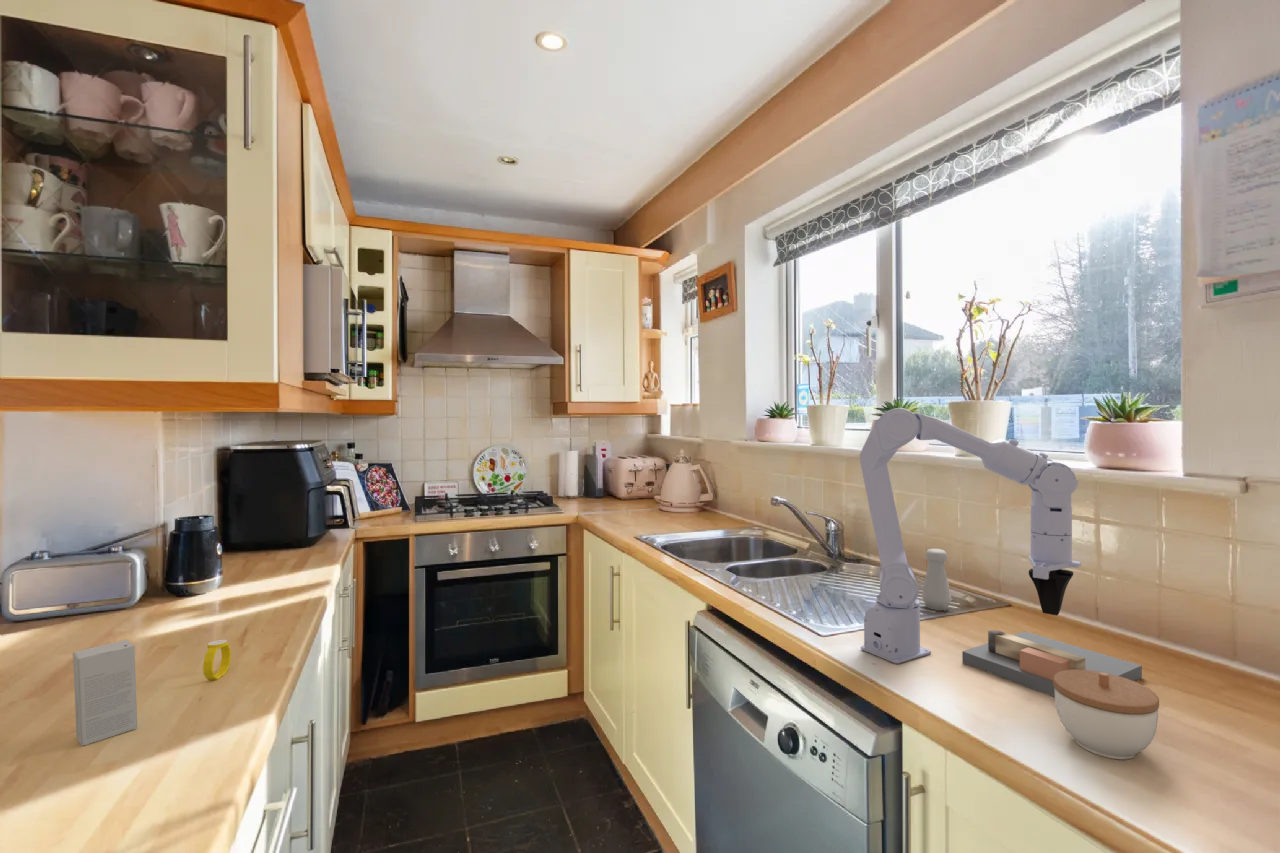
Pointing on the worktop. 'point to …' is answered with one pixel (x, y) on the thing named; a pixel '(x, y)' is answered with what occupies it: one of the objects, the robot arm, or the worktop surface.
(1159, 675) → the worktop surface
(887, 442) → the robot arm
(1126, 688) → the lidded jar
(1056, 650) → the stool leg
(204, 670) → the watch
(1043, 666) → the stool seat
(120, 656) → the skincare box
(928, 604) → the salt shaker
